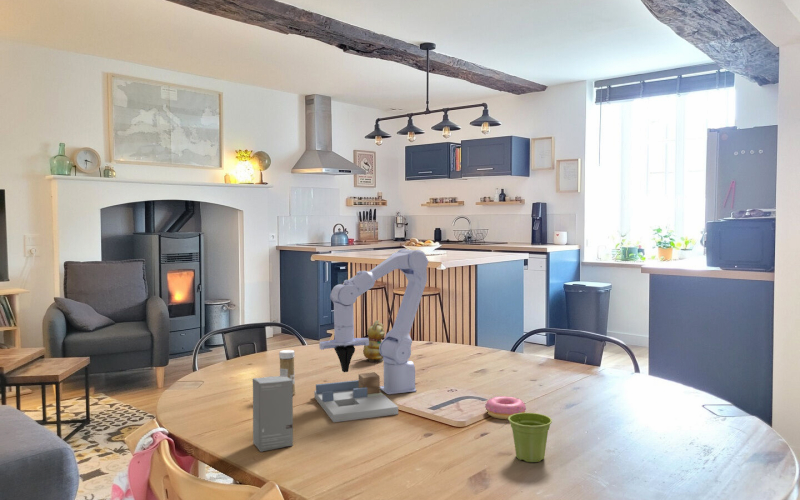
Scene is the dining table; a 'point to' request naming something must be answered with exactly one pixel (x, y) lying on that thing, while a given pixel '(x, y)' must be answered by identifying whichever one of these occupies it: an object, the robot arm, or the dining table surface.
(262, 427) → the skincare box
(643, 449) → the dining table surface
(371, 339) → the decorative figurine
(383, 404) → the deck
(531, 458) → the plant pot
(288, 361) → the sprinkles bottle
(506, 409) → the doughnut
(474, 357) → the dining table surface
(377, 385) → the walnut block
